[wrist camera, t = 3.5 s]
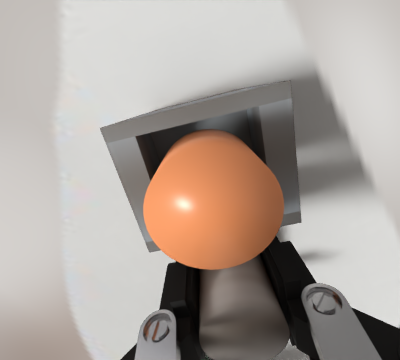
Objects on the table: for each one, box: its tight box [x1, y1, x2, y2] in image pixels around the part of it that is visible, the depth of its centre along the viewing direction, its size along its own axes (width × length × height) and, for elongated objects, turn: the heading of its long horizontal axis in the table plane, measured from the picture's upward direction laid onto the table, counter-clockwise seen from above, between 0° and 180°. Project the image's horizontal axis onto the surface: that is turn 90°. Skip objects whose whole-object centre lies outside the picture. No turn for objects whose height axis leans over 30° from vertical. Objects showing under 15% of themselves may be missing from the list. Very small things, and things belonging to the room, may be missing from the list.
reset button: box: [143, 129, 284, 270], centre depth 6 cm, size 3×3×3 cm
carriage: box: [199, 254, 290, 360], centre depth 11 cm, size 3×5×8 cm, turn 103°
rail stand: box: [100, 80, 301, 252], centre depth 13 cm, size 15×6×8 cm, turn 13°
